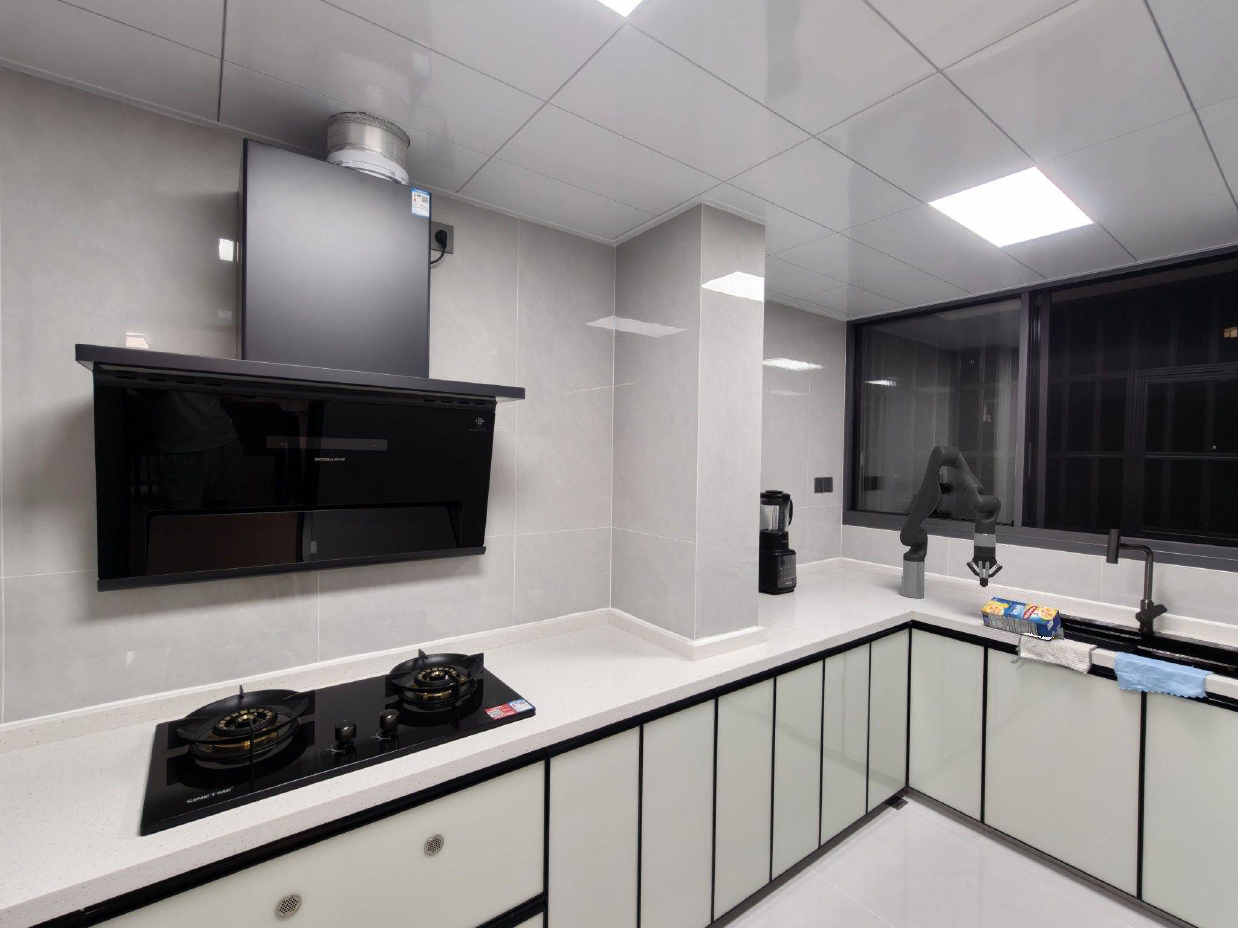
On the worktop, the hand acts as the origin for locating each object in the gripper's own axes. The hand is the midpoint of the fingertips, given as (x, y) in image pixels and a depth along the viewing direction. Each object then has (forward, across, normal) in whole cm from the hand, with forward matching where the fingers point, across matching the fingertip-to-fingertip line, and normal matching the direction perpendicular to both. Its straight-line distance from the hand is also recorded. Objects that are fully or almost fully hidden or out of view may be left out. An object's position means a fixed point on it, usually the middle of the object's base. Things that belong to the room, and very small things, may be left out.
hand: (983, 586), depth 228 cm
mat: (+14, +16, 0) cm, 21 cm away
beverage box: (+9, +2, -2) cm, 10 cm away
